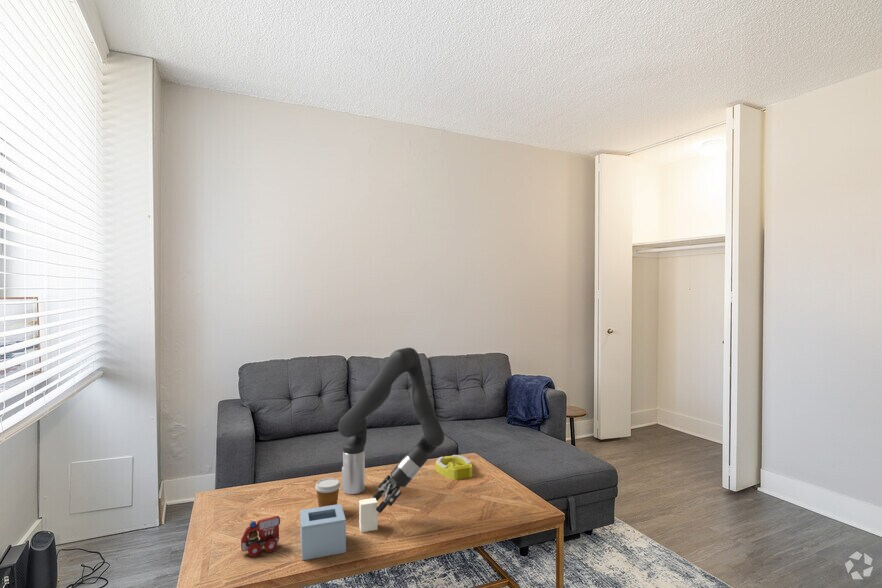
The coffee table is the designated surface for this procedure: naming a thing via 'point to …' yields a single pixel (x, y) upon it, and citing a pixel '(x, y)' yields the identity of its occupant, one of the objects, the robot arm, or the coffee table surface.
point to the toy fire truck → (261, 536)
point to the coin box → (322, 531)
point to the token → (368, 515)
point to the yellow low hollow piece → (454, 467)
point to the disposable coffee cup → (327, 491)
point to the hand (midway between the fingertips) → (375, 506)
